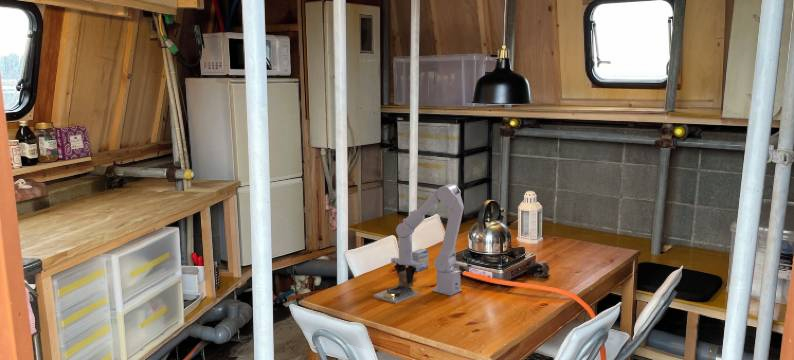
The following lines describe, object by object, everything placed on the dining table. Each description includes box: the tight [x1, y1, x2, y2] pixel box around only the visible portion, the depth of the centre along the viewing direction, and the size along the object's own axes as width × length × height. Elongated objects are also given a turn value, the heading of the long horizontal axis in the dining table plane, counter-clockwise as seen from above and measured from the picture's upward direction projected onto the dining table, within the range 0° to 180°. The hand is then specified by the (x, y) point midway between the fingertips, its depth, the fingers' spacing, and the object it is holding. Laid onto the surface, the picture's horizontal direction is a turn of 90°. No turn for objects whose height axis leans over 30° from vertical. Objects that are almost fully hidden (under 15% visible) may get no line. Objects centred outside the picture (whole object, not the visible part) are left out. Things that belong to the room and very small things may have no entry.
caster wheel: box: [526, 261, 551, 278], centre depth 271 cm, size 7×11×10 cm
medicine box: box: [412, 248, 429, 273], centre depth 282 cm, size 8×4×9 cm, turn 143°
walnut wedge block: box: [398, 270, 414, 288], centre depth 258 cm, size 4×5×6 cm
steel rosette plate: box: [373, 284, 420, 304], centre depth 246 cm, size 12×14×2 cm
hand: (405, 281), depth 258 cm, fingers closed on walnut wedge block, 4 cm apart
